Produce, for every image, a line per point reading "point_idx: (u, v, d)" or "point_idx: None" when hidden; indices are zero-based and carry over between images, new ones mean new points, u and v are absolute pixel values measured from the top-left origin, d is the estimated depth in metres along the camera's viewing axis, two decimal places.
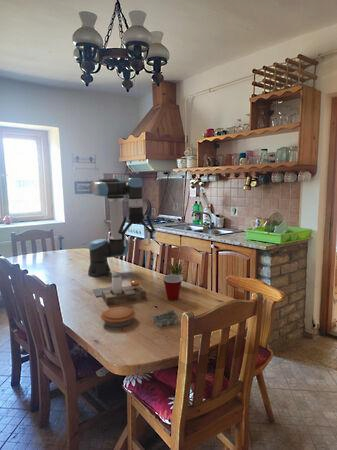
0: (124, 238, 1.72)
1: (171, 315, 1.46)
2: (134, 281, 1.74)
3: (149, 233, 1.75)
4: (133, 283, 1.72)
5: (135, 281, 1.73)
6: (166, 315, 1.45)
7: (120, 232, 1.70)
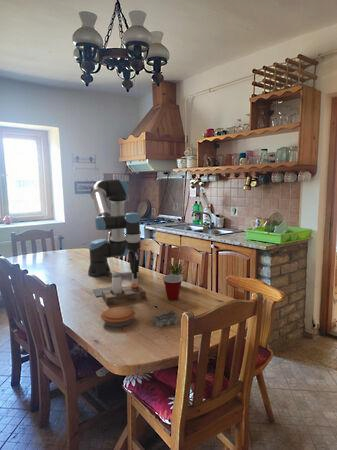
0: None
1: (171, 315, 1.46)
2: (134, 284, 1.74)
3: (132, 273, 1.72)
4: (133, 286, 1.72)
5: (135, 284, 1.74)
6: (166, 315, 1.45)
7: (130, 268, 1.75)
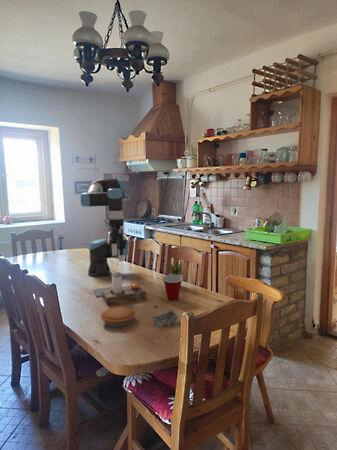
0: None
1: (170, 315, 1.46)
2: (134, 284, 1.74)
3: (118, 249, 1.61)
4: (133, 286, 1.72)
5: (135, 284, 1.74)
6: (166, 315, 1.45)
7: (110, 240, 1.75)
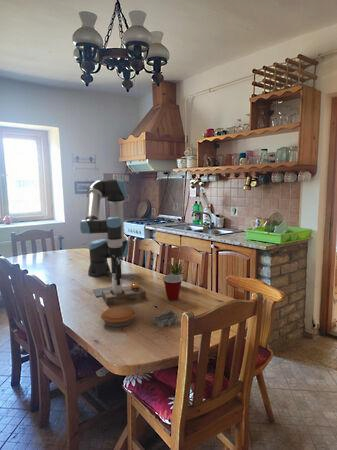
0: None
1: (170, 315, 1.46)
2: (134, 284, 1.74)
3: (115, 279, 1.66)
4: (133, 286, 1.72)
5: (135, 284, 1.74)
6: (166, 315, 1.45)
7: None
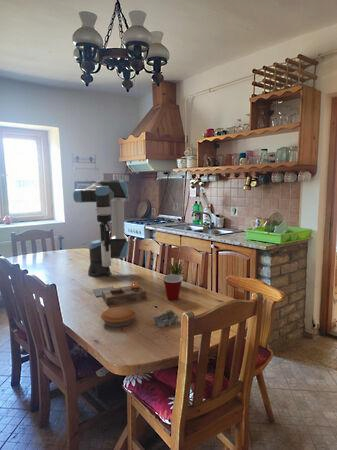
0: None
1: (170, 315, 1.46)
2: (134, 284, 1.74)
3: (104, 246, 1.73)
4: (133, 286, 1.72)
5: (135, 284, 1.74)
6: (165, 315, 1.44)
7: (101, 240, 1.81)
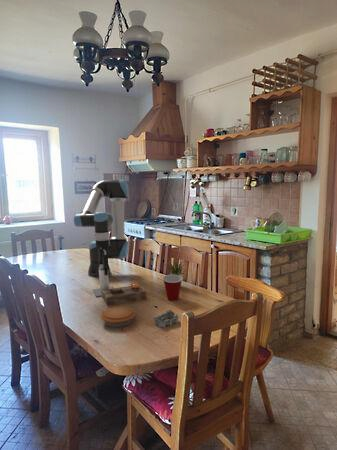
0: None
1: (169, 315, 1.46)
2: (134, 284, 1.74)
3: (103, 269, 1.75)
4: (133, 286, 1.72)
5: (135, 284, 1.74)
6: (165, 315, 1.44)
7: (98, 261, 1.87)
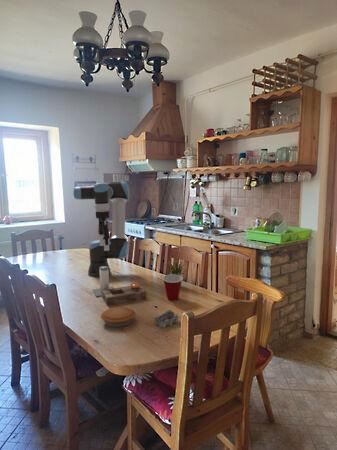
0: None
1: (169, 315, 1.46)
2: (134, 284, 1.74)
3: (103, 239, 1.73)
4: (133, 286, 1.72)
5: (135, 284, 1.74)
6: (165, 315, 1.44)
7: (98, 231, 1.88)
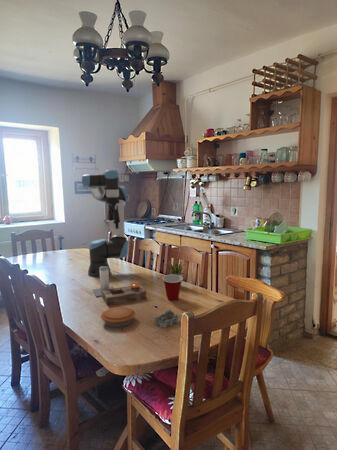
0: None
1: (169, 315, 1.46)
2: (134, 284, 1.74)
3: (114, 223, 1.82)
4: (133, 286, 1.72)
5: (135, 284, 1.74)
6: (165, 315, 1.44)
7: (108, 217, 1.96)
